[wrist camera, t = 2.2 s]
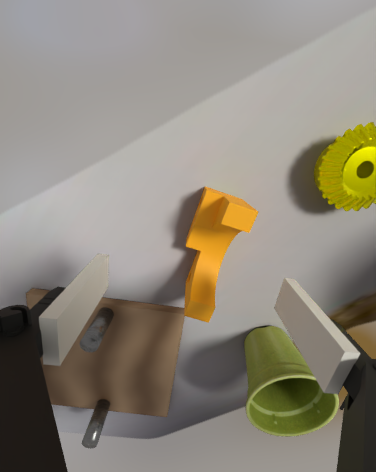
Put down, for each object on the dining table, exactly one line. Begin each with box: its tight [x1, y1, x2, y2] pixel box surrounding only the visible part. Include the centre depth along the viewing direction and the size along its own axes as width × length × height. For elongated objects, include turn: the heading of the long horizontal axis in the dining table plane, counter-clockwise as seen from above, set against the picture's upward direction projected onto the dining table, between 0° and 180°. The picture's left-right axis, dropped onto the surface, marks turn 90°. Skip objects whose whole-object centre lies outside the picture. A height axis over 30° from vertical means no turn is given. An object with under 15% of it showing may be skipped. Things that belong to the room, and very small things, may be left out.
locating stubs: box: [79, 307, 114, 448], centre depth 28 cm, size 2×19×5 cm, turn 172°
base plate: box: [26, 288, 185, 417], centre depth 31 cm, size 20×20×1 cm
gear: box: [314, 122, 376, 211], centre depth 21 cm, size 8×4×8 cm
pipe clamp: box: [184, 187, 258, 323], centre depth 23 cm, size 12×4×6 cm, turn 162°
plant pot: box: [244, 326, 339, 436], centre depth 27 cm, size 9×9×9 cm
